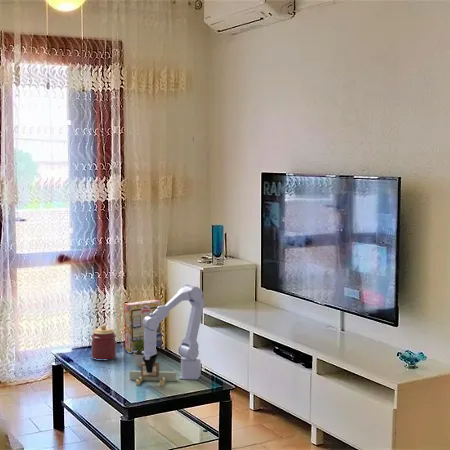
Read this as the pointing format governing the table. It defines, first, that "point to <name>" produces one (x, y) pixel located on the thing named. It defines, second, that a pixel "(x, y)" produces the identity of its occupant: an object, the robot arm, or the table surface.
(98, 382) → the table surface
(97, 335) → the canister
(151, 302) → the board game box
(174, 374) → the ledge
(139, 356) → the house plant
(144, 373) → the frame
